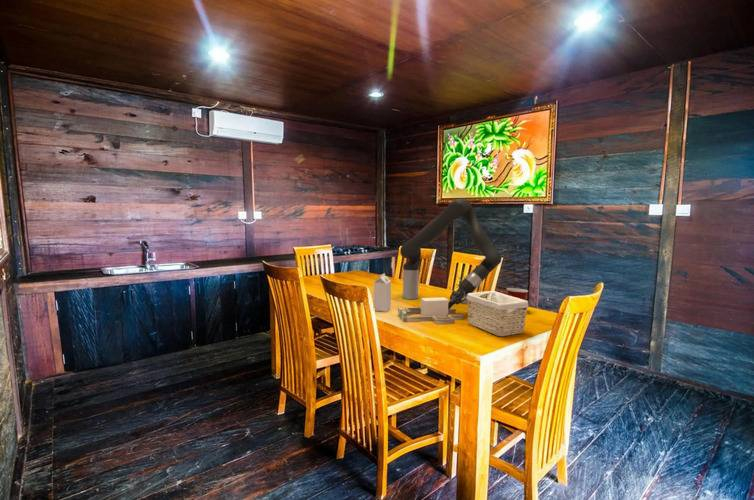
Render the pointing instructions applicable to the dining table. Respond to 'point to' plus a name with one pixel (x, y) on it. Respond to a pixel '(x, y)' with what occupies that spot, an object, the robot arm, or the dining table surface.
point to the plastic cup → (517, 293)
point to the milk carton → (382, 294)
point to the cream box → (434, 307)
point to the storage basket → (497, 312)
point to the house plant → (459, 286)
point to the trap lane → (417, 310)
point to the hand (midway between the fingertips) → (446, 308)
